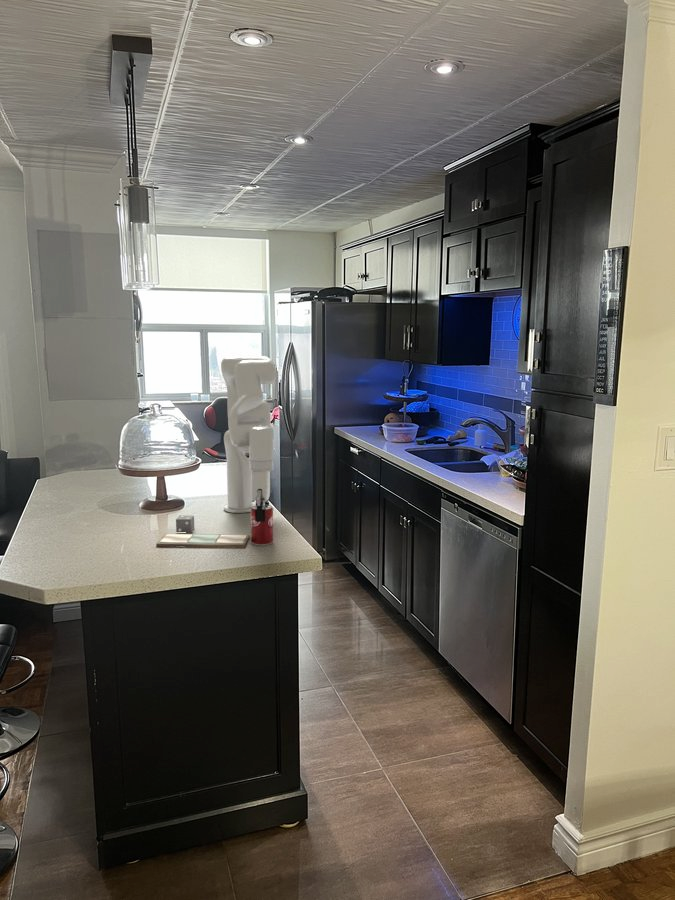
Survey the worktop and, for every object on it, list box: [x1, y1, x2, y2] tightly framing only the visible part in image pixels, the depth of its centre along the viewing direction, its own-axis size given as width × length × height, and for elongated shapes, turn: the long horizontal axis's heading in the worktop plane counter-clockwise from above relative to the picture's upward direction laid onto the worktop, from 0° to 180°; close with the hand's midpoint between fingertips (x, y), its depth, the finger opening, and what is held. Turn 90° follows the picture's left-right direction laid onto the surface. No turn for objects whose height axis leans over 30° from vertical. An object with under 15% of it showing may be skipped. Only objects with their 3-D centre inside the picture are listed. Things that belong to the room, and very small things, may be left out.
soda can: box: [250, 504, 275, 547], centre depth 216 cm, size 7×7×12 cm
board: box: [155, 533, 251, 549], centre depth 217 cm, size 11×28×1 cm, turn 89°
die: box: [175, 514, 195, 534], centre depth 229 cm, size 5×5×5 cm
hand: (262, 517), depth 215 cm, fingers open, 9 cm apart
